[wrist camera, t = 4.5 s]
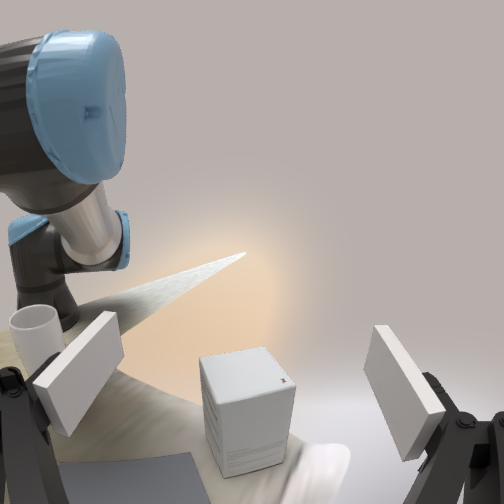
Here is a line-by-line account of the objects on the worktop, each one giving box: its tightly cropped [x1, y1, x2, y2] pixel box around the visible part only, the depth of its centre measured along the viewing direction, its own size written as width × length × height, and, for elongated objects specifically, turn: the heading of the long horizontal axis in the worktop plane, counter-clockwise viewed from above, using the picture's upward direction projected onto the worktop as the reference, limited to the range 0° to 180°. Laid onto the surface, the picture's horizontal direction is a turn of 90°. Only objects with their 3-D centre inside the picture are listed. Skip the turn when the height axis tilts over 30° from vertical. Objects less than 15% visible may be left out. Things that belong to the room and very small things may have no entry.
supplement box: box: [199, 346, 296, 478], centre depth 28 cm, size 7×7×13 cm
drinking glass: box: [9, 305, 66, 377], centre depth 29 cm, size 7×7×15 cm
